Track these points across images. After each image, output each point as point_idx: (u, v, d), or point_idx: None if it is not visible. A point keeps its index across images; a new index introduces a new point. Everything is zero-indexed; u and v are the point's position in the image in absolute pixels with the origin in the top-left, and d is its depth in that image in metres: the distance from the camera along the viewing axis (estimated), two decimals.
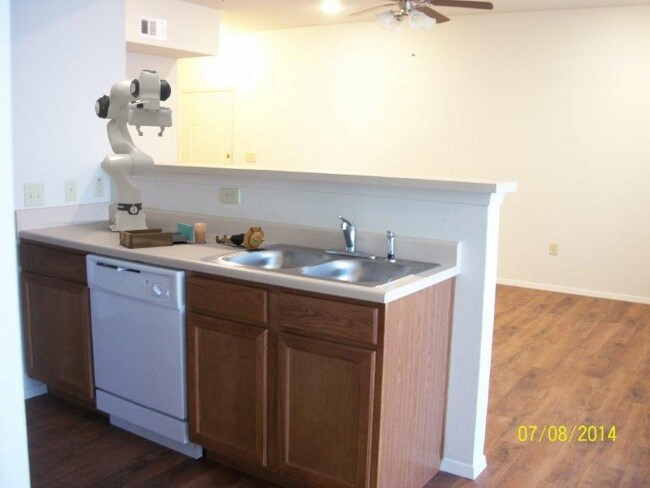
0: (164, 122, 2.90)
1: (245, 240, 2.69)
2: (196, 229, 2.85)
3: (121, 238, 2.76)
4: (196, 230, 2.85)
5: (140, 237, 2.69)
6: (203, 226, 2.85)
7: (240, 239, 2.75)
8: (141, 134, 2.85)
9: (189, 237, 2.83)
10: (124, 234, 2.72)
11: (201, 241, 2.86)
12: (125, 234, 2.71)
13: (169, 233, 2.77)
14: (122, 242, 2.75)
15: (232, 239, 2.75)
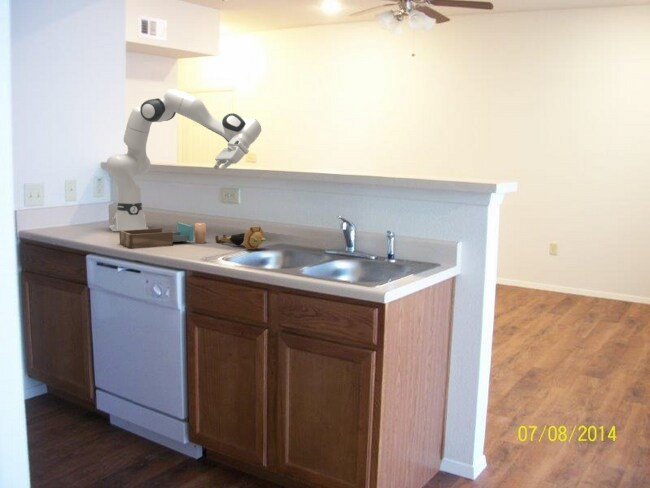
0: None
1: (245, 240, 2.69)
2: (196, 229, 2.85)
3: (121, 238, 2.76)
4: (196, 230, 2.85)
5: (140, 237, 2.69)
6: (203, 226, 2.85)
7: (240, 239, 2.75)
8: None
9: (189, 237, 2.83)
10: (124, 234, 2.72)
11: (201, 241, 2.86)
12: (125, 234, 2.71)
13: (169, 233, 2.77)
14: (122, 242, 2.75)
15: (232, 239, 2.75)
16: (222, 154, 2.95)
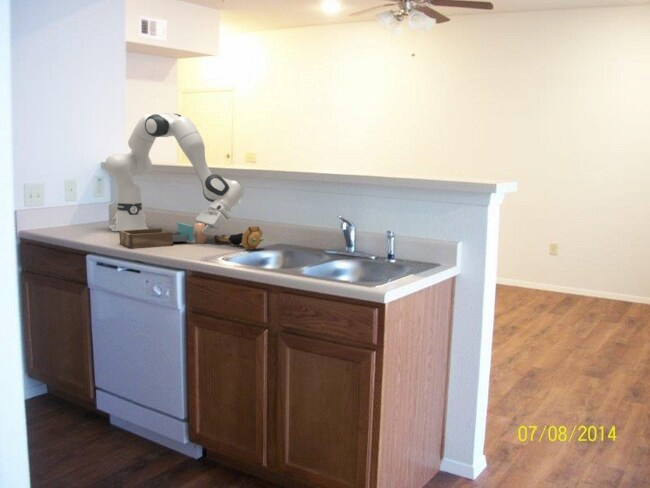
0: None
1: (243, 240, 2.70)
2: (196, 229, 2.85)
3: (121, 238, 2.76)
4: (196, 230, 2.85)
5: (140, 237, 2.69)
6: (203, 226, 2.85)
7: (238, 239, 2.75)
8: None
9: (189, 237, 2.83)
10: (124, 234, 2.72)
11: (201, 241, 2.86)
12: (125, 234, 2.71)
13: (169, 233, 2.77)
14: (122, 242, 2.75)
15: (230, 239, 2.75)
16: (203, 216, 2.92)
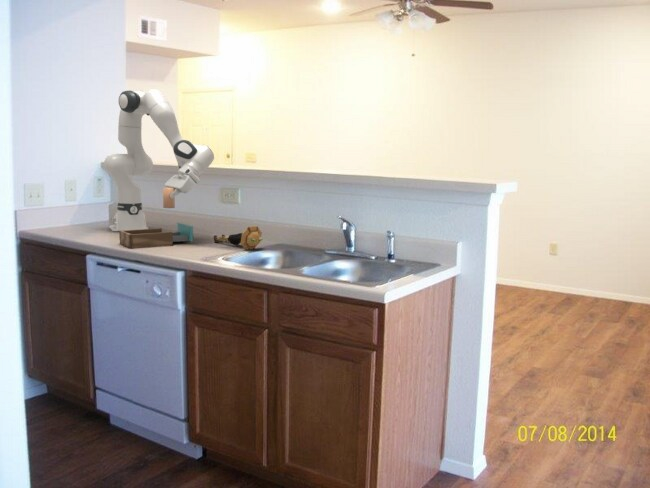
0: None
1: (242, 240, 2.70)
2: (164, 193, 2.79)
3: (121, 238, 2.76)
4: (164, 194, 2.79)
5: (140, 237, 2.69)
6: (171, 190, 2.79)
7: (238, 239, 2.75)
8: None
9: (189, 237, 2.83)
10: (124, 234, 2.72)
11: (169, 206, 2.80)
12: (125, 234, 2.71)
13: (169, 233, 2.77)
14: (122, 242, 2.75)
15: (230, 239, 2.75)
16: (172, 181, 2.86)
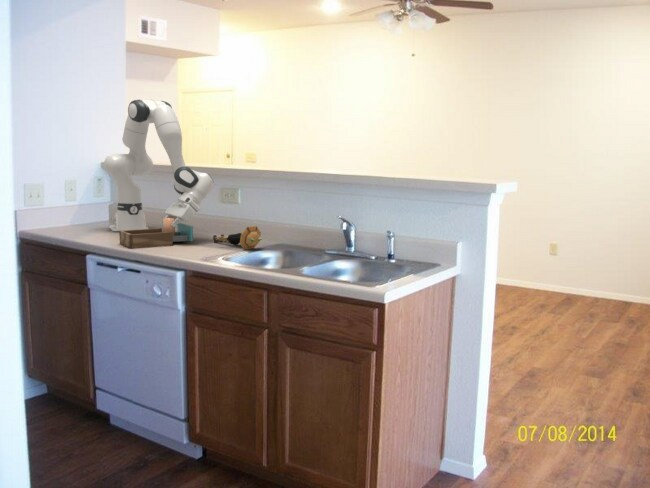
0: None
1: (242, 240, 2.70)
2: (165, 224, 2.81)
3: (121, 238, 2.76)
4: (165, 225, 2.81)
5: (140, 237, 2.69)
6: (172, 221, 2.81)
7: (237, 239, 2.76)
8: None
9: (189, 237, 2.83)
10: (124, 234, 2.72)
11: None
12: (125, 234, 2.71)
13: (169, 233, 2.77)
14: (122, 242, 2.75)
15: (229, 238, 2.76)
16: (172, 209, 2.88)
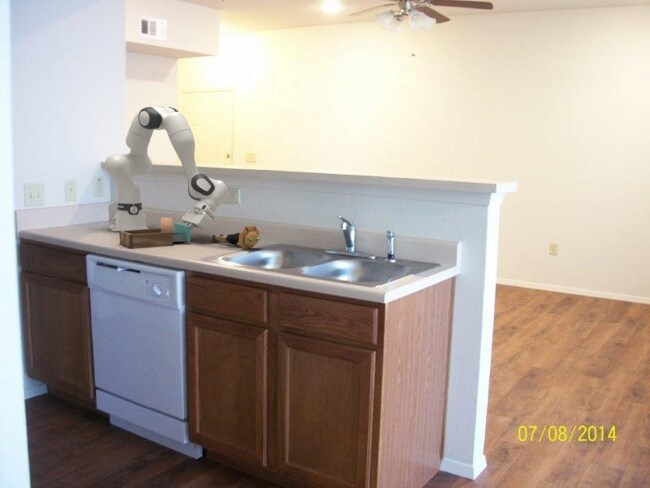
0: None
1: (240, 239, 2.71)
2: (162, 224, 2.80)
3: (121, 238, 2.76)
4: (162, 225, 2.81)
5: (140, 237, 2.69)
6: (169, 221, 2.80)
7: (235, 238, 2.76)
8: None
9: (186, 237, 2.82)
10: (124, 234, 2.72)
11: None
12: (125, 234, 2.71)
13: (169, 233, 2.77)
14: (122, 242, 2.75)
15: (228, 238, 2.76)
16: (188, 216, 2.93)
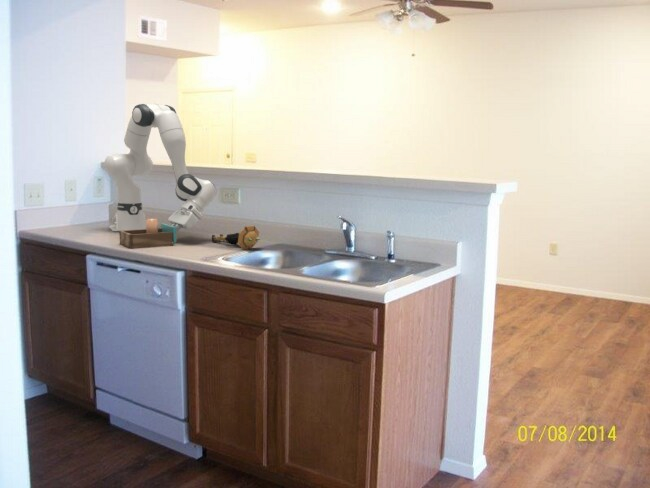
0: None
1: (240, 239, 2.71)
2: (147, 225, 2.77)
3: (121, 238, 2.76)
4: (147, 226, 2.77)
5: (140, 237, 2.69)
6: (154, 222, 2.77)
7: (235, 238, 2.76)
8: None
9: None
10: (124, 234, 2.72)
11: None
12: (125, 234, 2.71)
13: (169, 233, 2.77)
14: (122, 242, 2.75)
15: (227, 238, 2.76)
16: (175, 216, 2.89)
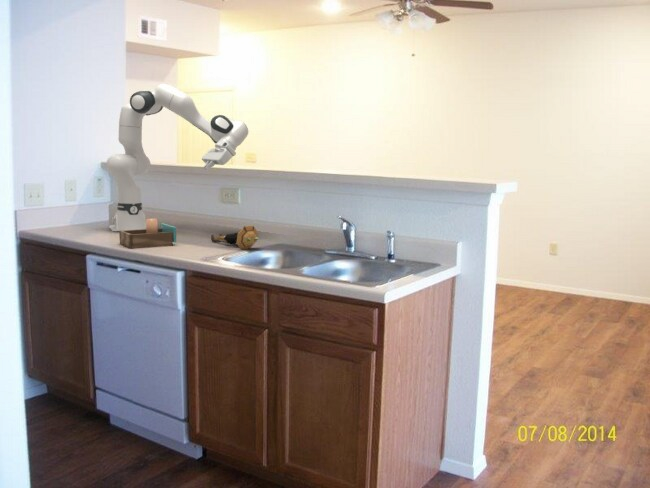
0: None
1: (238, 239, 2.71)
2: (146, 225, 2.77)
3: (121, 238, 2.76)
4: (146, 226, 2.77)
5: (140, 237, 2.69)
6: (153, 222, 2.76)
7: (234, 238, 2.77)
8: None
9: None
10: (124, 234, 2.72)
11: None
12: (125, 234, 2.71)
13: (169, 233, 2.77)
14: (122, 242, 2.75)
15: (226, 238, 2.77)
16: (209, 154, 3.02)
